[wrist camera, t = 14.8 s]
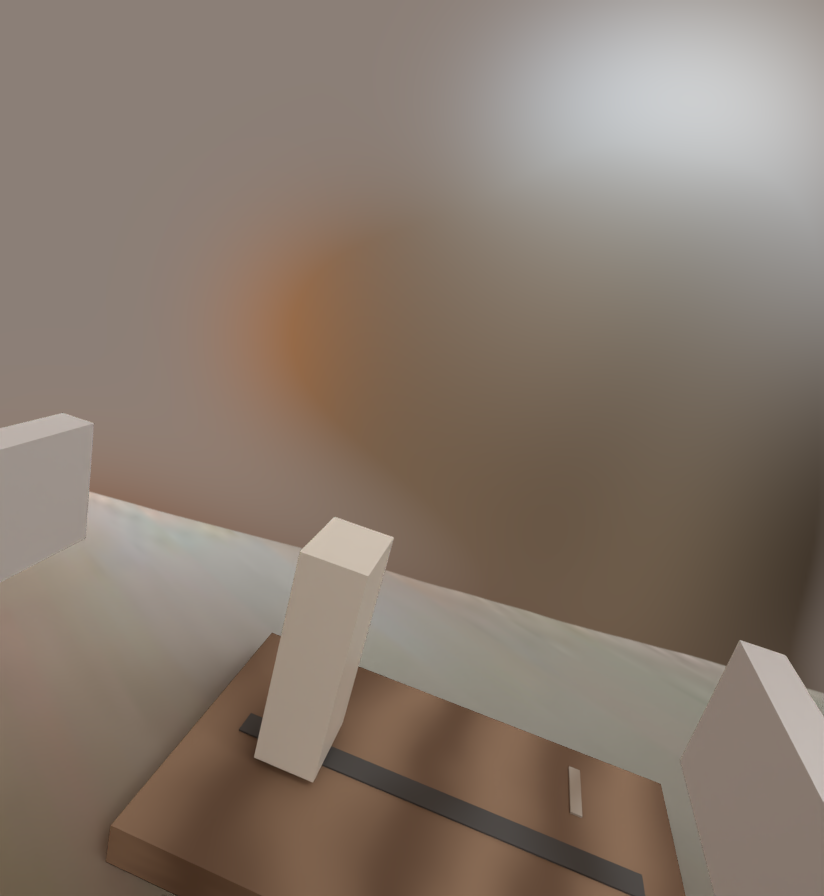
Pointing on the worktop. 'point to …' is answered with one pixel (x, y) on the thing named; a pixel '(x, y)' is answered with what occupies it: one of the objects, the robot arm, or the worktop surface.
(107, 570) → the worktop surface
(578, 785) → the board
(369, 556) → the fader tab
